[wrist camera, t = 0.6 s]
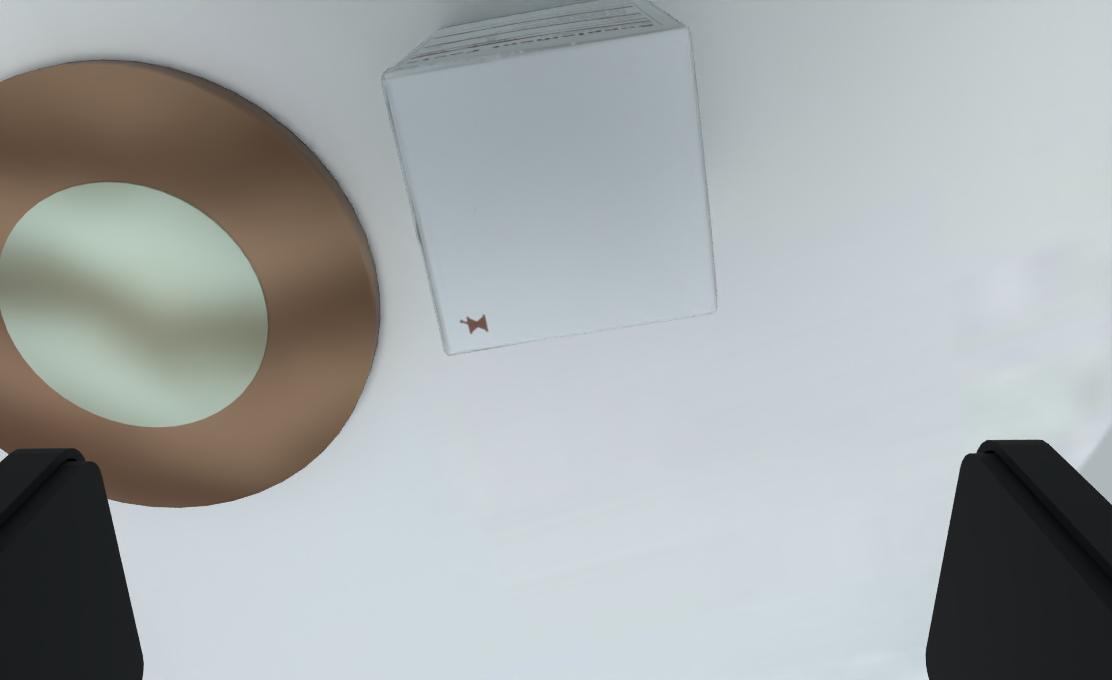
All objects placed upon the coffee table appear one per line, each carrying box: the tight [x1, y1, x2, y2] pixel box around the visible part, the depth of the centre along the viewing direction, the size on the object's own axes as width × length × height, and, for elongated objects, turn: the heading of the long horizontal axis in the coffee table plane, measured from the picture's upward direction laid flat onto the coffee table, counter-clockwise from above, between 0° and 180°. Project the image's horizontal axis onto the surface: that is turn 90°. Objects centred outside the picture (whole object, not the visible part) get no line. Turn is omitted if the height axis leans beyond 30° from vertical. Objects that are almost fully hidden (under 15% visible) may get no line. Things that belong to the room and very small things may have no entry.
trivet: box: [0, 60, 380, 508], centre depth 35 cm, size 18×18×2 cm
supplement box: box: [382, 0, 717, 356], centre depth 28 cm, size 7×7×13 cm
